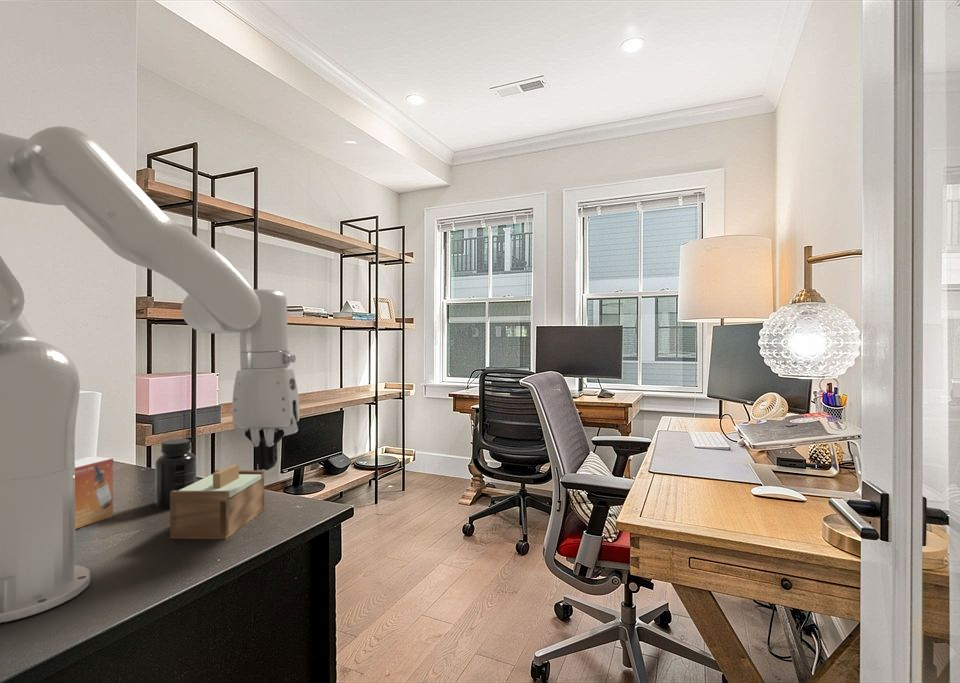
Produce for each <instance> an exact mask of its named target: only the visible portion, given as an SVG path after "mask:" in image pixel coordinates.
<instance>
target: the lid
mask: <svg viewBox="0 0 960 683" xmlns="http://www.w3.org/2000/svg"><path fill="white" fill-rule="evenodd" d="M219 470H220V471H218V472H216V473H214V472H213V473H212V474H210V475H208V476H206V477H203V478H202V479H199V480H196V482H195V483H193V484H191V485H189V486H187V487H185V488H183V489H181V490H179V491H228V498H230V497H232V496H234V495H235V494H237V493H239V492H240V491H242V490H244V489H245V488H247V487H249V486H250V485H252V484H254V483H255V482H257V481H258V480H260V479H261V474H239V470H240V464H234V463H233V464H231V465H228V466H226V467H225V468H221V469H219Z"/></svg>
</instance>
